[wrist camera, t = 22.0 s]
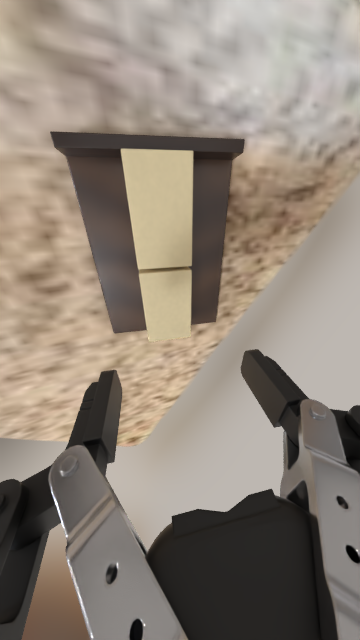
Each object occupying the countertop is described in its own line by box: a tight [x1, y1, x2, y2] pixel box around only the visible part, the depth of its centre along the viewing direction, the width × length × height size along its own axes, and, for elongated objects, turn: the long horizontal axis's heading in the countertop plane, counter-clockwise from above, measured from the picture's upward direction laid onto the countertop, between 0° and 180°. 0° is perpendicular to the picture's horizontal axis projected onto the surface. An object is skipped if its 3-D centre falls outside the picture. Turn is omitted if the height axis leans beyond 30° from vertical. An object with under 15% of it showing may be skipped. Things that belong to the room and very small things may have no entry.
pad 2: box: [139, 266, 192, 342], centre depth 20 cm, size 8×5×4 cm, turn 1°
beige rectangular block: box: [121, 149, 193, 269], centre depth 15 cm, size 8×5×4 cm, turn 1°
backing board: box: [50, 132, 245, 333], centre depth 18 cm, size 18×14×3 cm
